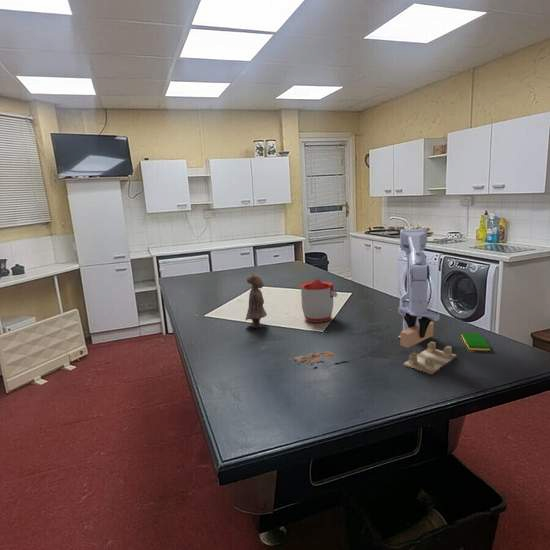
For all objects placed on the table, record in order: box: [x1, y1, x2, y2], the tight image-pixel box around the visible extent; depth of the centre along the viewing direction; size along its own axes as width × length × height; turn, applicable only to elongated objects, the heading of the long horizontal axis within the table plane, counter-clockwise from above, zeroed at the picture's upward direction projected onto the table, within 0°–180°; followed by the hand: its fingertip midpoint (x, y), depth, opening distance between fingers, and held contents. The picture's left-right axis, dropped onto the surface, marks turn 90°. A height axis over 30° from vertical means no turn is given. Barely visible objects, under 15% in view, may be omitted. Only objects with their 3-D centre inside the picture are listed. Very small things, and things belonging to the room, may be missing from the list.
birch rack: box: [403, 341, 457, 375], centre depth 135 cm, size 18×10×4 cm, turn 132°
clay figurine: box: [245, 273, 268, 329], centre depth 178 cm, size 13×10×25 cm
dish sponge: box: [460, 332, 491, 351], centre depth 148 cm, size 7×14×2 cm, turn 166°
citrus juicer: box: [299, 278, 338, 323], centre depth 184 cm, size 16×17×20 cm
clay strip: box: [399, 321, 435, 349], centre depth 137 cm, size 16×3×5 cm, turn 128°
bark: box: [288, 351, 347, 365], centre depth 141 cm, size 22×12×1 cm, turn 111°
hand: (417, 335), depth 137 cm, fingers closed on clay strip, 3 cm apart
